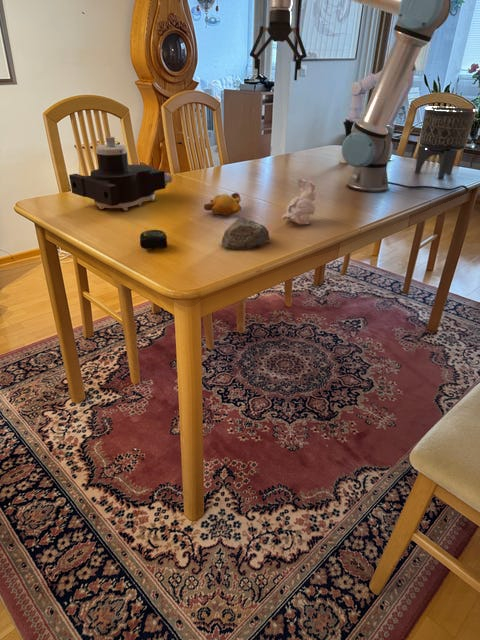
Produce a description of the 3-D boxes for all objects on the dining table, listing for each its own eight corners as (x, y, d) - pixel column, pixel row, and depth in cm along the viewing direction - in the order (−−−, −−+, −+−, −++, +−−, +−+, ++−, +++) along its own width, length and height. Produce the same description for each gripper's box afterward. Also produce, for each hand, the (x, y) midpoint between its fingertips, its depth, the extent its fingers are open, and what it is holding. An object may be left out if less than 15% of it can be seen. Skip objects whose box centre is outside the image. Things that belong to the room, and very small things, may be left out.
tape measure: (140, 252, 115) (139, 238, 113) (141, 242, 120) (140, 229, 119) (167, 251, 116) (166, 237, 114) (167, 241, 121) (166, 228, 120)
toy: (200, 206, 138) (209, 192, 151) (208, 225, 141) (216, 210, 154) (234, 195, 135) (241, 182, 148) (241, 215, 138) (247, 200, 151)
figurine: (321, 218, 142) (325, 177, 135) (298, 231, 131) (302, 187, 125) (298, 213, 146) (301, 173, 139) (274, 225, 135) (277, 182, 128)
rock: (255, 233, 128) (256, 211, 124) (276, 242, 122) (278, 219, 119) (217, 244, 120) (217, 220, 117) (239, 254, 115) (239, 230, 111)
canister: (339, 162, 219) (341, 152, 217) (341, 161, 223) (343, 150, 221) (349, 163, 218) (351, 153, 215) (351, 161, 222) (353, 151, 219)
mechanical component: (62, 136, 139) (140, 127, 159) (73, 204, 150) (145, 188, 170) (104, 145, 127) (182, 134, 147) (113, 218, 138) (185, 199, 158)
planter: (406, 175, 197) (419, 108, 184) (419, 168, 211) (432, 105, 198) (453, 182, 187) (471, 112, 174) (463, 174, 201) (480, 109, 188)
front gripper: (315, 11, 158) (309, 80, 169) (244, 10, 158) (243, 78, 169) (318, 9, 151) (312, 81, 162) (243, 8, 152) (242, 79, 163)
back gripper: (341, 107, 233) (337, 135, 240) (358, 110, 222) (354, 139, 229) (352, 107, 236) (348, 135, 243) (370, 110, 224) (365, 139, 231)
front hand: (276, 80), depth 166 cm, fingers open, 13 cm apart
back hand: (352, 137), depth 236 cm, fingers open, 7 cm apart
